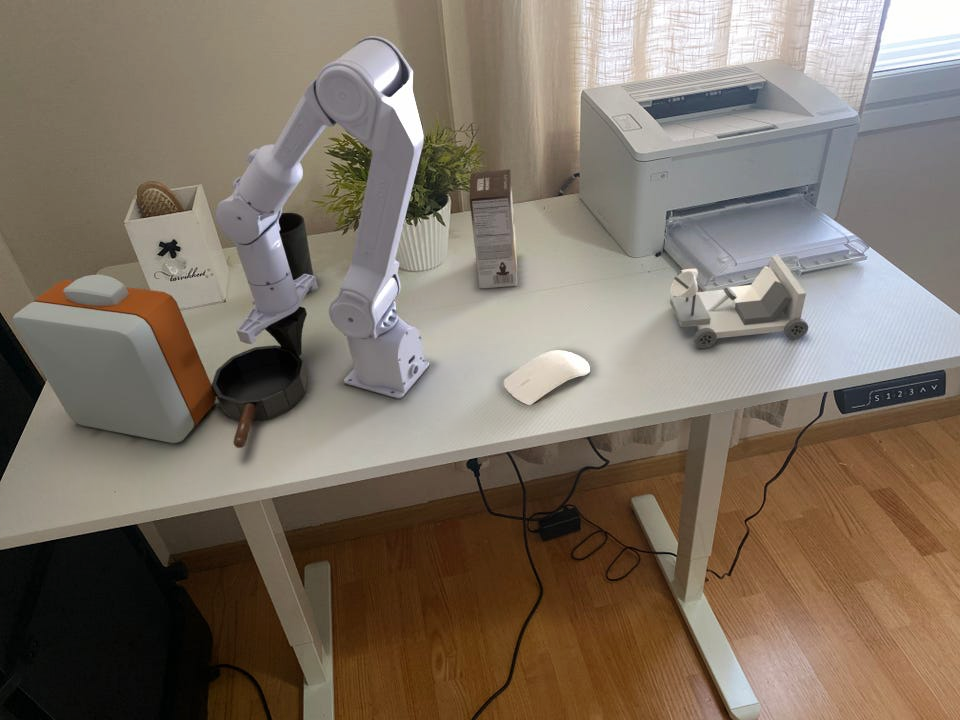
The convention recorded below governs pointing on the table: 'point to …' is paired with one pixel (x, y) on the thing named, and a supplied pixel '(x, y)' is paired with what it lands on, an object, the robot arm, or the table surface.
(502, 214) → the coffee box
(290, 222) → the cup
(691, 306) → the toy cart
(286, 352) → the pan
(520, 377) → the computer mouse
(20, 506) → the table surface
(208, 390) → the alarm clock
